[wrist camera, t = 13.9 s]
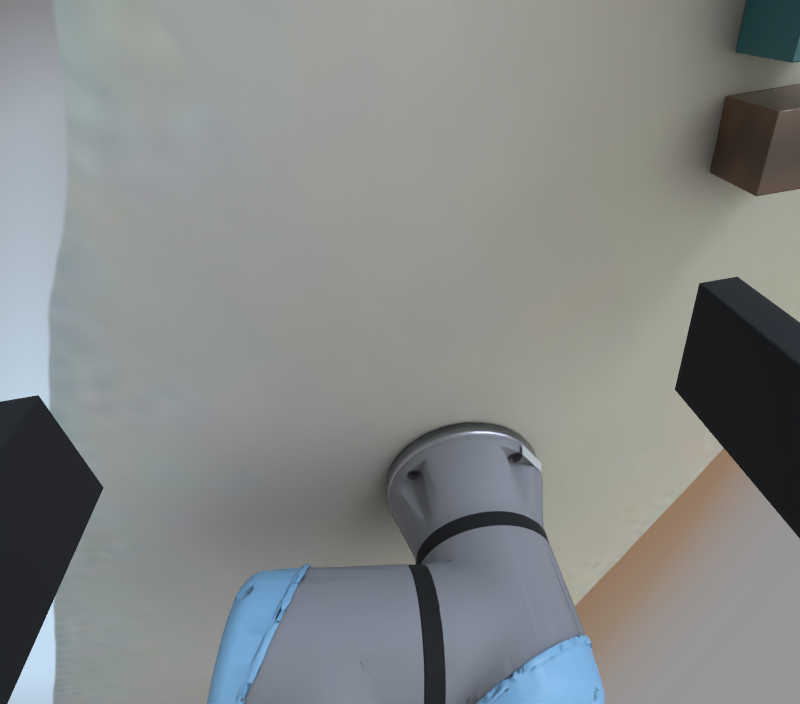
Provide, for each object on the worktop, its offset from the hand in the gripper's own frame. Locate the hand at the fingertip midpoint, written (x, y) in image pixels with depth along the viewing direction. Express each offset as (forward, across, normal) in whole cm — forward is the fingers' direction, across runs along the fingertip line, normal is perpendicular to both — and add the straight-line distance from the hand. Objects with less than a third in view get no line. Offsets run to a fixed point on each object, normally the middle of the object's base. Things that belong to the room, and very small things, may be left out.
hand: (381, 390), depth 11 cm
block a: (+27, -27, +5) cm, 38 cm away
